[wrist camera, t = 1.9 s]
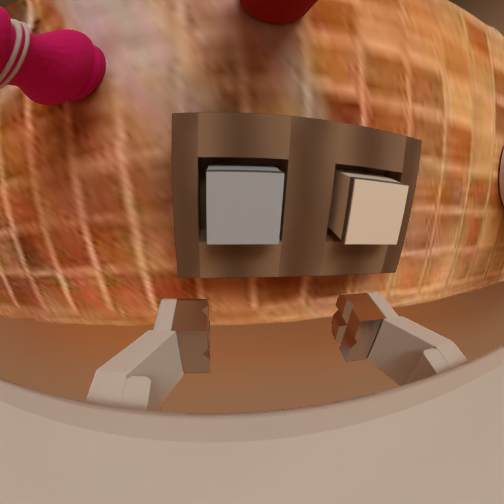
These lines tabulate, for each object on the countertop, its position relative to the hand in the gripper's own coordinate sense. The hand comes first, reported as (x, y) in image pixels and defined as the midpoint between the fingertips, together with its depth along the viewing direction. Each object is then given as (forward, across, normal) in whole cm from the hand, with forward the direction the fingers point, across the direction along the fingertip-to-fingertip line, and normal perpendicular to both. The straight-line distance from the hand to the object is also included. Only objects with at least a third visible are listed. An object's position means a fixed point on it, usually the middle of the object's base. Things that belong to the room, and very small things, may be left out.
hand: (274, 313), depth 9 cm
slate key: (+17, 0, 0) cm, 17 cm away
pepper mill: (+19, +16, -13) cm, 29 cm away
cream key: (+17, -11, 0) cm, 20 cm away
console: (+19, -6, 0) cm, 20 cm away
